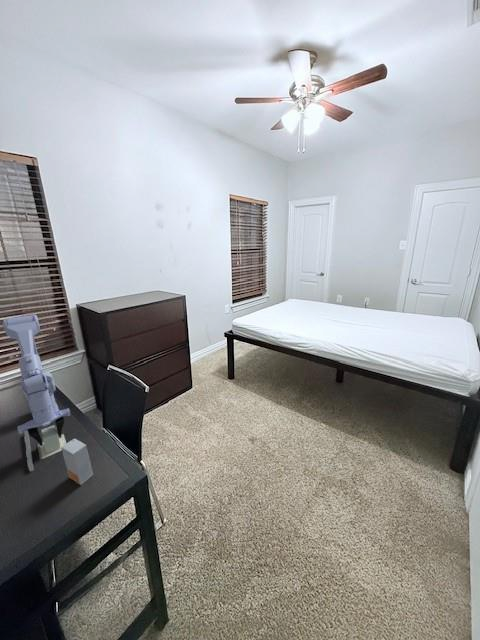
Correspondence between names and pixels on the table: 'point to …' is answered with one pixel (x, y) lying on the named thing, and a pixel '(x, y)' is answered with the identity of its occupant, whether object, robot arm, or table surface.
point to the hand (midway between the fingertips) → (50, 440)
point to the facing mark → (43, 453)
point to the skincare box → (77, 461)
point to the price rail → (28, 451)
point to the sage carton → (50, 439)
